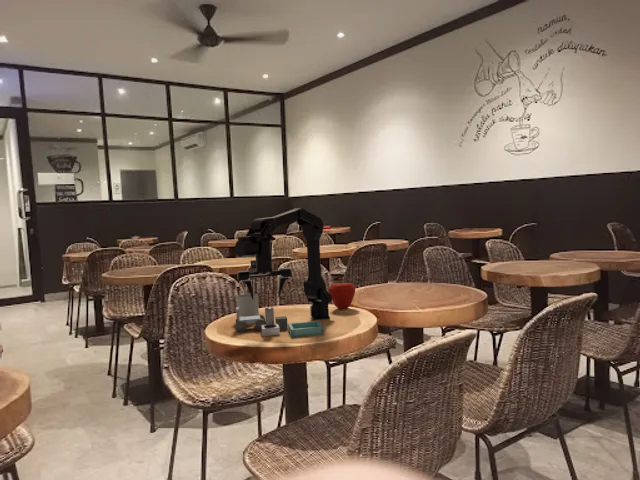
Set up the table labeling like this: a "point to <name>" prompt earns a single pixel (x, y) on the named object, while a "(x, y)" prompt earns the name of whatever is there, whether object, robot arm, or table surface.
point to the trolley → (248, 321)
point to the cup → (248, 305)
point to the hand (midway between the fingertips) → (265, 298)
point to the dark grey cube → (282, 322)
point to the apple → (342, 294)
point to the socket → (270, 330)
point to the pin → (269, 317)
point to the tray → (305, 328)
